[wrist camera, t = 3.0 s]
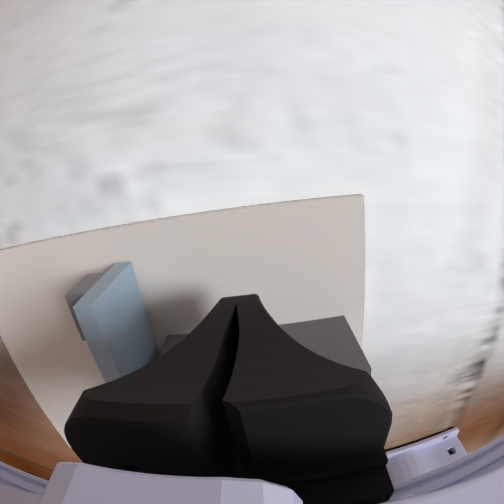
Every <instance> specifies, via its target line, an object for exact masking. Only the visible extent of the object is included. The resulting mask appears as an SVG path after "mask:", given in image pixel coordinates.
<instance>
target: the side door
mask: <svg viewBox="0 0 504 504" xmlns="http://www.w3.org/2000/svg"><path fill="white" fill-rule="evenodd" d="M65 298H66V301H67V303H68V306H69V309H70V311H71V314H72V317H73V319H74V322H75V324H76V327H77V329H78V331H79V334H80V336H81V339H82V341H86V342H87V344H88V346H89V349H90V351H91V353H92V355H93V357H94V360H95V362H96V364H97V366H98V368H99V370H100V372H101V374H102V376H103V378H104V380H105V382H106V383H107V382H110V381H113V380H116V379H118V378H120V377H123V376H125V375H127V374H129V373H132V372H134V371H136V370H138V369H140V368H142V367H143V366H145V365H147V364H148V363H150V362H152V361H153V360H155V359H157V358H158V357H159V356H160V354H159V351H158V348H157V345H156V342H155V339H154V336H153V333H152V330H151V327H150V324H149V321H148V317H147V314H146V311H145V308H144V304H143V301H142V297H141V294H140V290H139V287H138V283H137V280H136V276H135V272H134V269H133V265H132V261H130V262H122V263H115V264H114V265H113V266H112V267H111V268H110V269H109V270H108V271H107V272H103V273H95V274H87V275H86V276H85V277H84V278H83V279H82V280H81V281H79V282H78V283H77V284H76V285H75V286H74V287H73V288H72V289H71V290H70V291H69V292H68V293H67V294H65Z"/></svg>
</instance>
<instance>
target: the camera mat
mask: <svg viewBox="0 0 504 504" xmlns="http://www.w3.org/2000/svg"><path fill="white" fill-rule="evenodd" d="M130 261H132V265H133V269H134V272H135V276H136V280H137V283H138V287H139V290H140V294H141V297H142V301H143V304H144V308H145V311H146V314H147V317H148V321H149V324H150V327H151V330H152V333H153V336H154V339H155V342H156V345H157V348H158V351H159V354H160V353H161V351H162V348H163V345H164V343H165V340H166V338H167V335H177V334H189V333H190V332H191V331H192V330H193V329H194V328H195V327H196V326H197V325H198V324H199V323H200V322H201V321H202V320H203V319H204V318H205V317H206V316H207V314H208V313H209V312H210V311H211V310H212V308H213V307H214V306H215V305H216V304H217V302H218V301H219V300H220V299H221V298H222V297H231V296H240V295H249V294H257V295H258V296H259V297H260V300H261V302H262V304H263V306H264V307H265V309H266V310H267V312H268V313H269V314H270V316H271V317H272V318H273V319H274V321H275V322H276V323H277V324H278V325H280V324H288V323H296V322H303V321H310V320H317V319H323V318H330V317H336V316H342V315H344V316H345V318H346V320H347V322H348V324H349V326H350V328H351V330H352V332H353V334H354V336H355V337H356V339H357V341H358V343H359V345H360V347H361V346H362V333H363V316H364V294H365V211H364V195H362V194H354V195H343V196H332V197H322V198H312V199H302V200H293V201H284V202H275V203H267V204H259V205H251V206H243V207H235V208H228V209H220V210H213V211H206V212H199V213H192V214H185V215H179V216H172V217H166V218H159V219H153V220H147V221H141V222H135V223H129V224H123V225H118V226H112V227H107V228H101V229H96V230H90V231H85V232H80V233H75V234H69V235H64V236H59V237H55V238H50V239H45V240H40V241H35V242H31V243H26V244H22V245H17V246H13V247H8V248H4V249H0V336H1V338H2V340H3V342H4V344H5V346H6V348H7V350H8V352H9V354H10V356H11V358H12V360H13V362H14V363H15V365H16V367H17V369H18V371H19V372H20V374H21V376H22V378H23V379H24V381H25V383H26V384H27V386H28V388H29V389H30V391H31V393H32V394H33V396H34V397H35V399H36V401H37V402H38V404H39V405H40V407H41V408H42V410H43V411H44V413H45V414H46V416H47V417H48V418H49V420H50V421H51V423H52V424H53V425H54V427H55V428H56V430H57V431H58V432H59V434H60V435H61V436H62V437H63V439H64V440H65V441H66V443H67V444H68V445H69V443H68V442H67V440H66V437H65V433H64V427H65V423H66V421H67V420H68V418H69V416H70V414H71V412H72V410H73V408H74V407H75V405H76V403H77V401H78V399H79V398H80V396H81V394H82V392H83V391H84V390H86V389H89V388H92V387H95V386H98V385H101V384H104V383H106V382H105V380H104V378H103V376H102V374H101V372H100V370H99V368H98V366H97V364H96V362H95V360H94V357H93V355H92V353H91V351H90V349H89V346H88V344H87V342H86V341H82V339H81V336H80V334H79V331H78V329H77V327H76V324H75V322H74V319H73V317H72V314H71V311H70V309H69V306H68V303H67V301H66V298H65V294H67V293H68V292H69V291H70V290H71V289H72V288H73V287H74V286H75V285H76V284H77V283H78V282H79V281H81V280H82V279H83V278H84V277H85V276H86V275H87V274H95V273H103V272H107V271H108V270H109V269H110V268H111V267H112V266H113V265H114V264H115V263H122V262H130ZM69 446H70V445H69ZM70 448H71V446H70Z"/></svg>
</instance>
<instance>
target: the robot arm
mask: <svg viewBox="0 0 504 504" xmlns="http://www.w3.org/2000/svg"><path fill="white" fill-rule="evenodd" d="M391 423H392V412H391V409H390V406H389V404H388V402H387V400H386V398H385V396H384V394H383V393H382V391H381V390H380V388H379V387H378V385H377V384H376V383H375V381H374V380H373V378H372V377H371V376H370V374H369V373H368V372H367V371H363V370H360V369H356V368H353V367H349V366H346V365H342V364H339V363H337V362H334V361H332V360H329V359H327V358H324V357H322V356H320V355H318V354H316V353H314V352H313V351H311V350H309V349H307V348H306V347H304V346H303V345H301V344H300V343H298V342H297V341H296V340H294V339H293V338H292V337H291V336H290V335H288V334H287V333H286V332H285V331H284V330H283V329H282V328H281V327H280V326H279V325H278V324H277V323H276V322H275V321H274V319H273V318H272V317H271V316H270V314H269V313H268V312H267V310H266V309H265V307H264V306H263V304H262V302H261V300H260V297H259V296H258V295H257V294H249V295H240V296H231V297H222V298H221V299H220V300H219V301H218V302H217V304H216V305H215V306H214V307H213V308H212V310H211V311H210V312H209V313H208V314H207V316H206V317H205V318H204V319H203V320H202V321H201V322H200V323H199V324H198V325H197V326H196V327H195V328H194V329H193V330H192V331H191V332H190V333H189V334H188V335H187V336H186V337H185V338H184V339H183V340H182V341H180V342H179V343H178V344H177V345H175V346H174V347H173V348H171V349H170V350H169V351H167V352H166V353H165V354H163V355H161V356H160V357H158V358H157V359H155V360H153V361H152V362H150V363H148V364H147V365H145V366H143V367H142V368H140V369H138V370H136V371H134V372H132V373H129V374H127V375H125V376H123V377H120V378H118V379H116V380H113V381H110V382H107V383H104V384H101V385H98V386H95V387H92V388H89V389H86V390H84V391H83V392H82V394H81V396H80V398H79V399H78V401H77V403H76V405H75V407H74V408H73V410H72V412H71V414H70V416H69V418H68V420H67V421H66V423H65V427H64V433H65V437H66V440H67V442H68V443H69V445H70V446H71V448H72V449H73V451H74V452H75V453H76V454H77V456H78V457H79V458H80V459H81V460H82V462H83V463H74V462H60V463H58V464H57V465H56V467H55V469H54V470H53V473H52V475H51V477H50V479H49V481H47V480H44V479H42V478H39V477H36V476H34V475H31V474H28V473H26V472H23V471H21V470H19V469H16V468H14V467H12V466H9V465H7V464H5V463H3V462H0V504H504V435H503V436H502V437H500V438H498V439H496V440H495V441H493V442H491V443H489V444H487V445H485V446H484V447H482V448H480V449H478V450H476V451H474V452H472V453H470V454H468V455H467V453H466V451H465V449H464V448H463V446H462V444H461V442H460V441H459V439H458V437H457V434H458V432H459V429H458V427H455V428H452V429H450V430H447V431H445V432H442V433H440V434H437V435H435V436H432V437H429V438H427V439H424V440H421V441H418V442H415V443H412V444H409V445H406V446H403V447H400V448H397V449H393V450H390V451H387V452H385V450H384V446H385V443H386V439H387V436H388V433H389V430H390V426H391Z"/></svg>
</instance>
